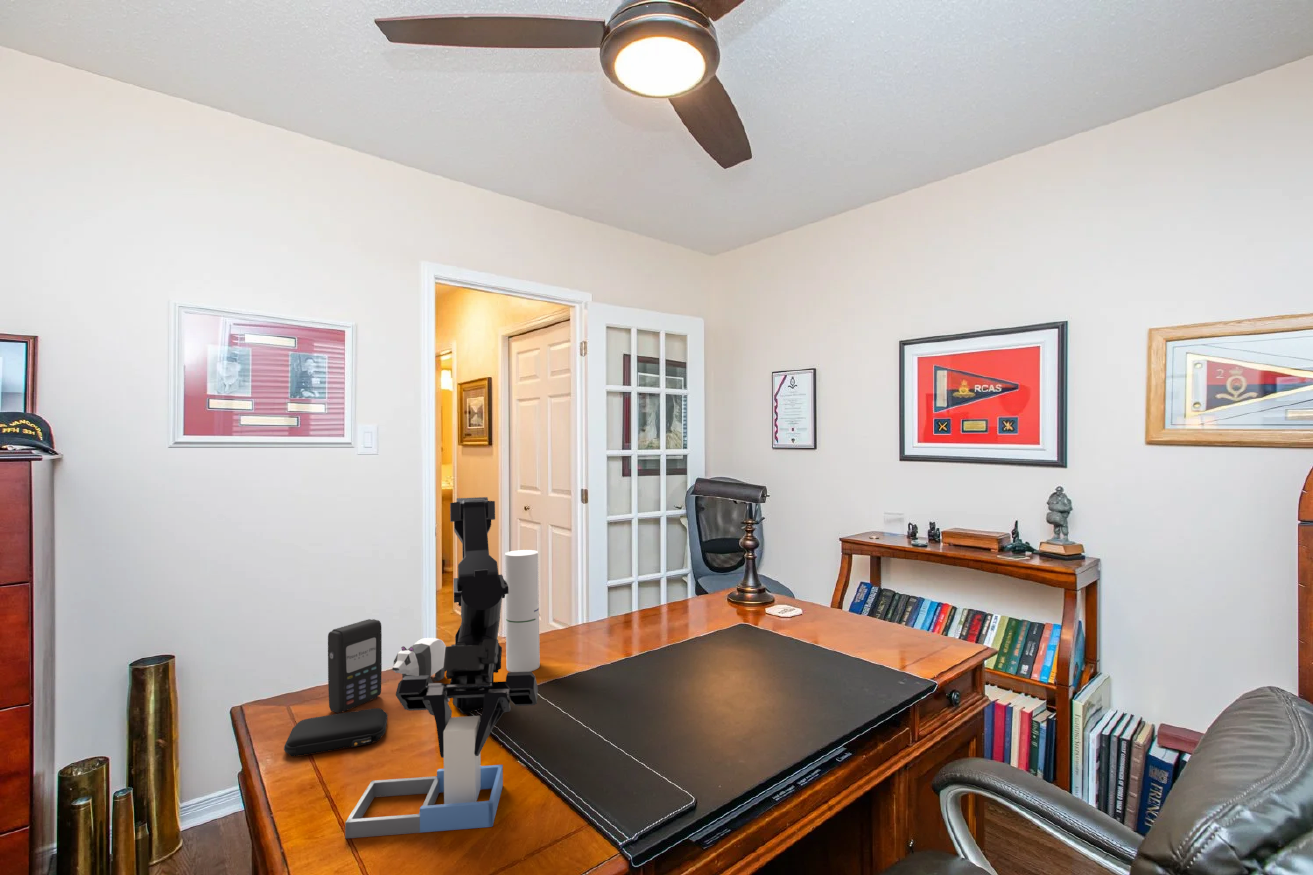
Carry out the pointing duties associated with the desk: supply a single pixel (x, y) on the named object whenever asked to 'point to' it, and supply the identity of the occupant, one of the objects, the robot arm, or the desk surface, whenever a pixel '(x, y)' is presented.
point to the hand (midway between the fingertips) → (459, 755)
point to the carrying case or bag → (336, 732)
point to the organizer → (426, 807)
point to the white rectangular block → (461, 760)
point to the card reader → (354, 664)
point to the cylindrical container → (522, 611)
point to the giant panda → (422, 659)
